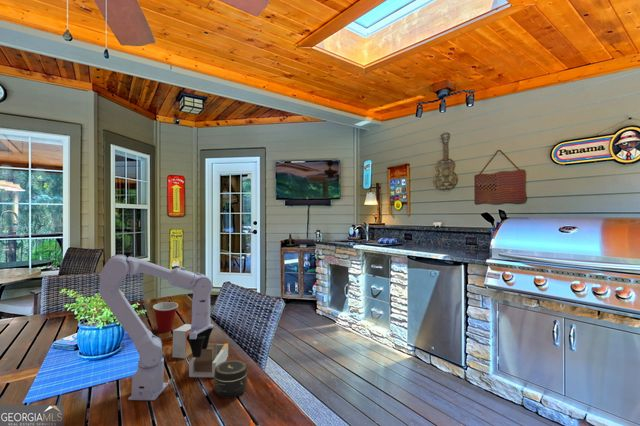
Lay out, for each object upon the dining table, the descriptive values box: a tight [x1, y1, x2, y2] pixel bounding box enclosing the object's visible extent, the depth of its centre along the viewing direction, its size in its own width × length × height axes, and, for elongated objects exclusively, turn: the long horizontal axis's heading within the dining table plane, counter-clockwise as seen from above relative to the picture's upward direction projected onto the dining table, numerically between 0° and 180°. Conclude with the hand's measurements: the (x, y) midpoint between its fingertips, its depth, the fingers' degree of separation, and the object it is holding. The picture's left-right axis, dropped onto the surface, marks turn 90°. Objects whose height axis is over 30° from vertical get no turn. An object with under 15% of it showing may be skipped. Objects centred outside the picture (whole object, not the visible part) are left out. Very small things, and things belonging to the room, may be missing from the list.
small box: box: [171, 323, 193, 359], centre depth 130 cm, size 8×6×10 cm
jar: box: [213, 359, 248, 399], centre depth 104 cm, size 10×10×8 cm
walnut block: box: [196, 342, 218, 372], centre depth 116 cm, size 5×6×8 cm
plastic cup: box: [152, 301, 179, 333], centre depth 155 cm, size 11×11×12 cm
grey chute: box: [188, 343, 229, 378], centre depth 120 cm, size 16×9×5 cm, turn 1°
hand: (200, 352), depth 110 cm, fingers open, 6 cm apart
